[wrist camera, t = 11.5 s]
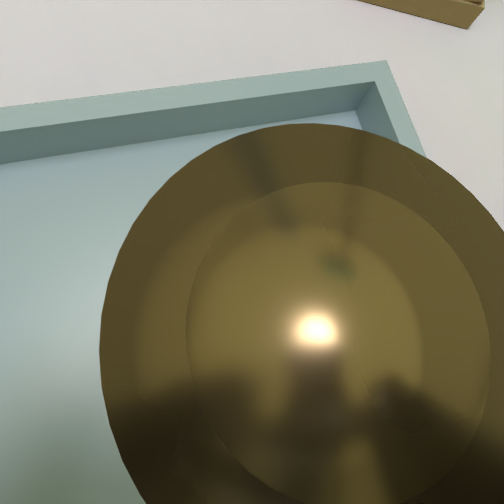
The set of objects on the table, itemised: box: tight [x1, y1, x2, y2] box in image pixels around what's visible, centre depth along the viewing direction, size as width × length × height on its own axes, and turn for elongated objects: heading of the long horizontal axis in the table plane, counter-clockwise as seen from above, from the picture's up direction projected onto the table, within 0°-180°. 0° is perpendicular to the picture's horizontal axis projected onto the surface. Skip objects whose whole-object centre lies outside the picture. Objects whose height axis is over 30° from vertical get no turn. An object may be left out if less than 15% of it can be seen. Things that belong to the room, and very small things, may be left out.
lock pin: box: [99, 123, 504, 504], centre depth 10 cm, size 4×4×13 cm
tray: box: [0, 60, 427, 504], centre depth 15 cm, size 22×22×3 cm
